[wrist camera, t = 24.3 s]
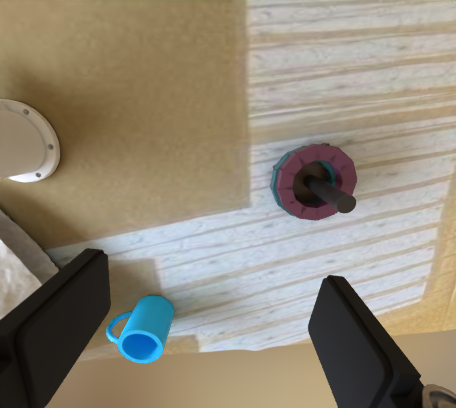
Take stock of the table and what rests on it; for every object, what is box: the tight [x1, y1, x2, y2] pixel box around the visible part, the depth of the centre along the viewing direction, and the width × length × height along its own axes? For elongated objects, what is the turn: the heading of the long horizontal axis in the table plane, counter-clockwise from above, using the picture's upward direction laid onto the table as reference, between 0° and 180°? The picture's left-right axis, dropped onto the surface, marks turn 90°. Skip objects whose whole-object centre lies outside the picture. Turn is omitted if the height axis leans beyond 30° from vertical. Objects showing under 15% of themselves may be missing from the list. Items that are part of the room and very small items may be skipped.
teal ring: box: [270, 146, 336, 216], centre depth 34 cm, size 11×11×2 cm
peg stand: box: [273, 143, 356, 213], centre depth 30 cm, size 9×9×13 cm
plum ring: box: [276, 144, 357, 221], centre depth 32 cm, size 11×11×2 cm
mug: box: [106, 295, 174, 363], centre depth 42 cm, size 12×8×8 cm
